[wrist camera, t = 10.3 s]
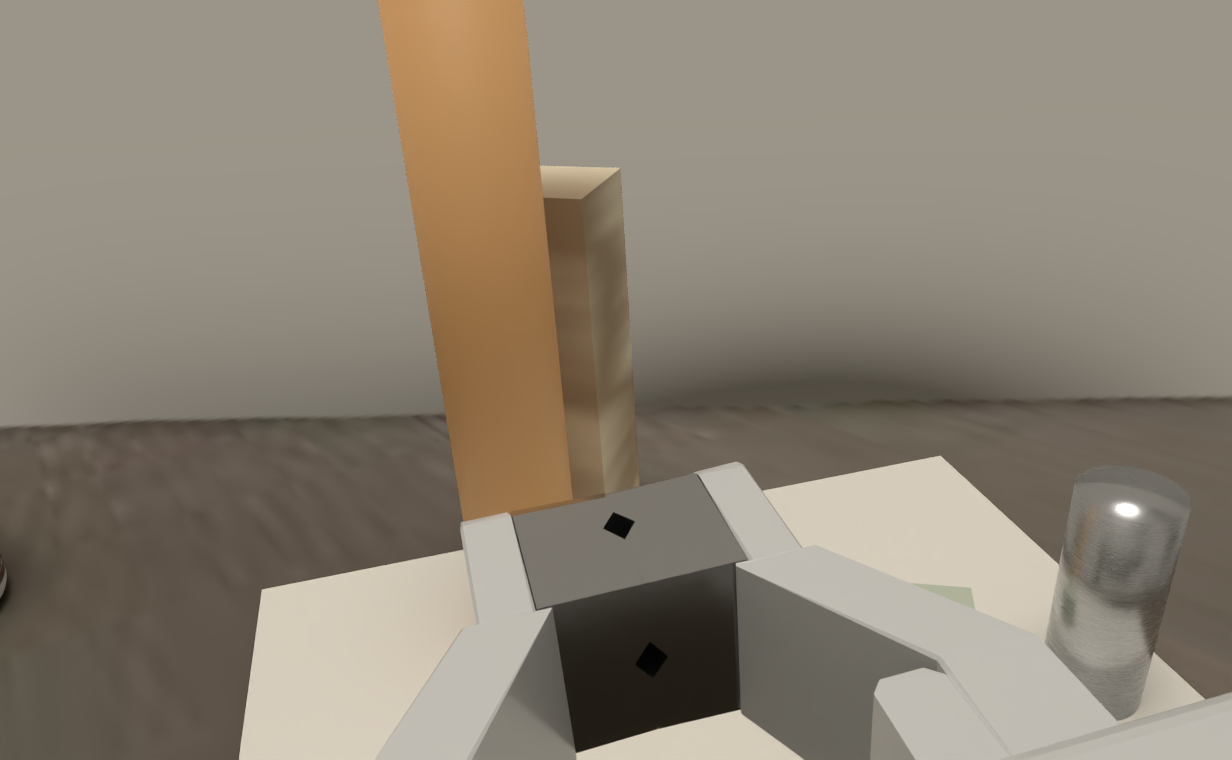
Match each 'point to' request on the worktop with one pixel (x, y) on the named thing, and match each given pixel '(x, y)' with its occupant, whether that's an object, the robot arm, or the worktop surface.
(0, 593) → the supplement bottle
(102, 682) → the worktop surface
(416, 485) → the worktop surface
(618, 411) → the post
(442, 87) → the orange upright dowel
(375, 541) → the worktop surface
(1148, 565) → the post
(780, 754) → the base board
